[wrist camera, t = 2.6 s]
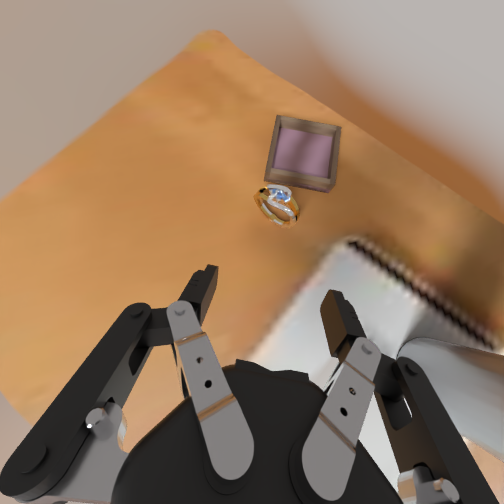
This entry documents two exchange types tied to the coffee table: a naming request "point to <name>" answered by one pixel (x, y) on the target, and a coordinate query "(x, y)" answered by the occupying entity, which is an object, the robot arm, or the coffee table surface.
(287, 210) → the ring
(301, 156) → the jewellery tray
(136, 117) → the coffee table surface
